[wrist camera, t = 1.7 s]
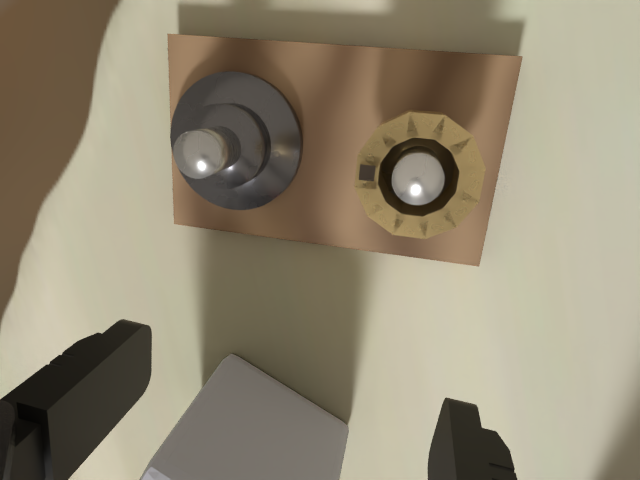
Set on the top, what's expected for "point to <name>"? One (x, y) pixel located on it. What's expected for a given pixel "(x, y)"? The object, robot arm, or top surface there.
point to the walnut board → (350, 133)
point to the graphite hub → (236, 140)
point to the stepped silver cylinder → (418, 170)
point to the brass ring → (442, 209)
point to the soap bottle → (250, 433)
